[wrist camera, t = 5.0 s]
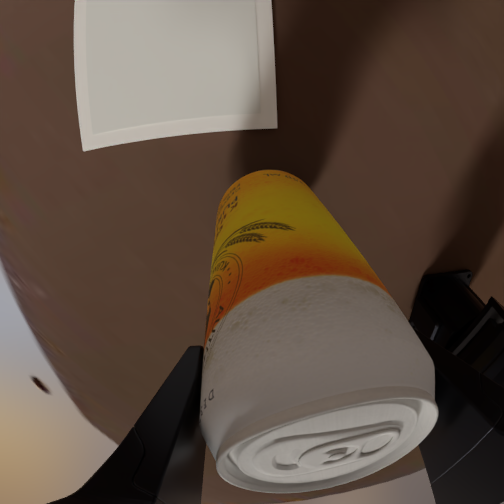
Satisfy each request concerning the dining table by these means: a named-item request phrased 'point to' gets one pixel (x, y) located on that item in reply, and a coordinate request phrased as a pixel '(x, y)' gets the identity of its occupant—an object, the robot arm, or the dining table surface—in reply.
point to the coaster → (172, 68)
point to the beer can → (304, 348)
